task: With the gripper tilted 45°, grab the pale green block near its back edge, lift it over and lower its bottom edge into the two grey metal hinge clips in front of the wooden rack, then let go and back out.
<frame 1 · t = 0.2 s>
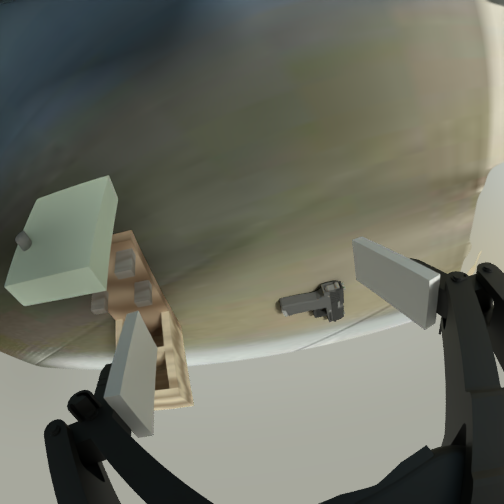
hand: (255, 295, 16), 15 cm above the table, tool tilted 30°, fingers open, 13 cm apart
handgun: (313, 303, 55), on the table
wooden rack: (126, 286, 36), on the table
pale green block: (75, 198, 24), on the table
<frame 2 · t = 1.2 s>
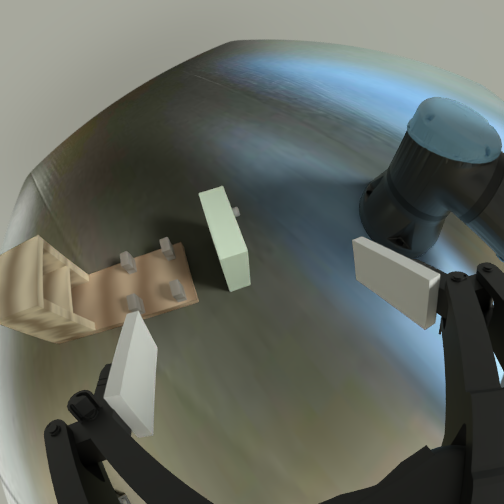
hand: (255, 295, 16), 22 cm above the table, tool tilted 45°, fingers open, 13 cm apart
wooden rack: (128, 293, 39), on the table
pale green block: (230, 260, 41), on the table
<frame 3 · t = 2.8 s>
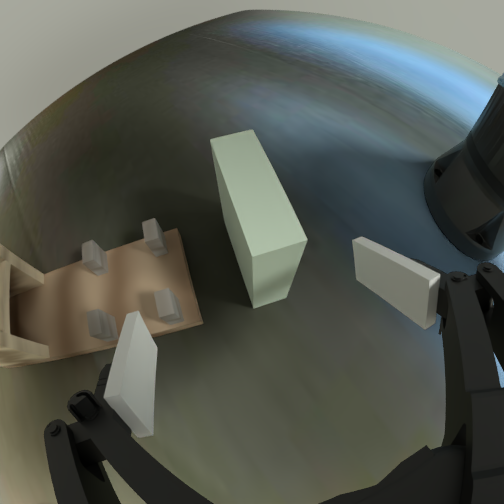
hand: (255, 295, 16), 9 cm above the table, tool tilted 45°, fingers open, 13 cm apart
wooden rack: (97, 304, 24), on the table
pale green block: (253, 258, 26), on the table
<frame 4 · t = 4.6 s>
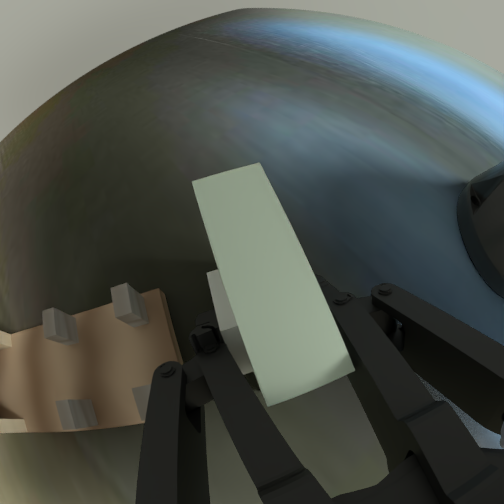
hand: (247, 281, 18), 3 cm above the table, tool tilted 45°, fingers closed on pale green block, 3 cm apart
wooden rack: (71, 376, 17), on the table
pale green block: (259, 325, 20), on the table, touching gripper
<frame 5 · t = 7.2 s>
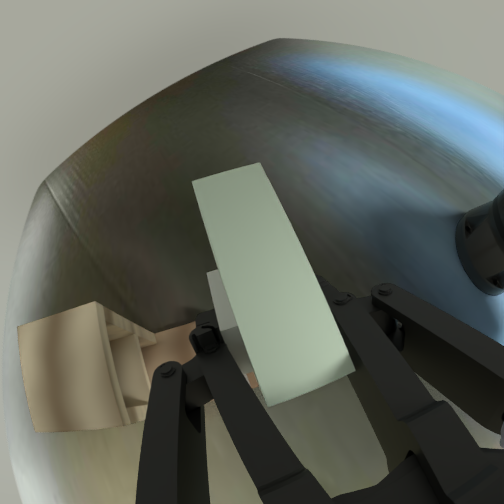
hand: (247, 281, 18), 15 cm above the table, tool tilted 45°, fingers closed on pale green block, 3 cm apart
wooden rack: (217, 358, 30), on the table
pale green block: (259, 325, 20), point 12 cm above the table, touching gripper
when the fingers open (6 cm above the table, at t = 9.7 s): pale green block stays where it is, resting on wooden rack.
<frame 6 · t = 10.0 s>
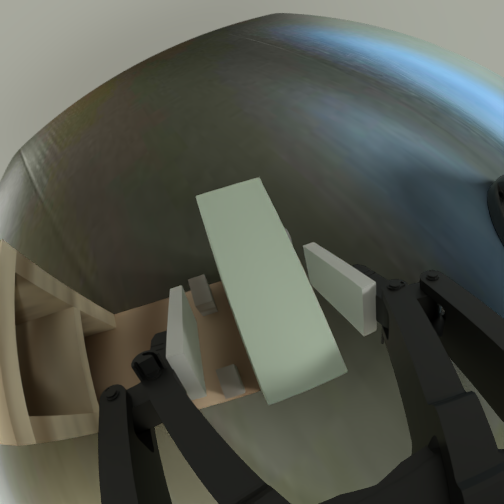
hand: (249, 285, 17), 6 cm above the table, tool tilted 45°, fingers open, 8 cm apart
wooden rack: (199, 350, 21), on the table
pale green block: (259, 328, 20), point 1 cm above the table, touching wooden rack
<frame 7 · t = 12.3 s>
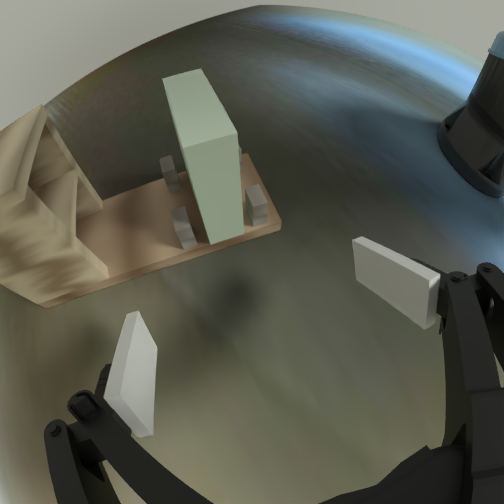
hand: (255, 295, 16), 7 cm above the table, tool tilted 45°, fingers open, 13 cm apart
wooden rack: (165, 223, 26), on the table
pale green block: (212, 198, 26), point 1 cm above the table, touching wooden rack
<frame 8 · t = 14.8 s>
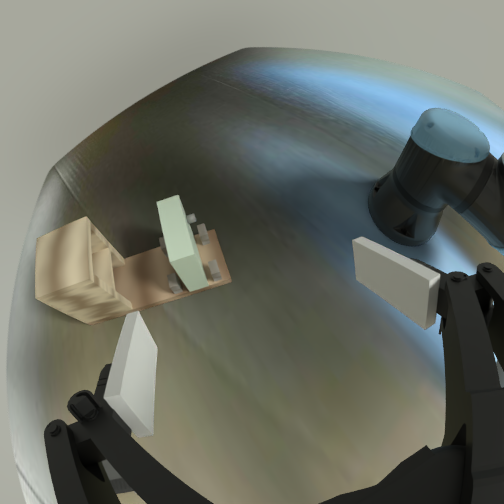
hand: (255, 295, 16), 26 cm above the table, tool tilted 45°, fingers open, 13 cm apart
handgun: (94, 463, 30), on the table
wooden rack: (164, 275, 44), on the table
pale green block: (191, 262, 43), point 1 cm above the table, touching wooden rack
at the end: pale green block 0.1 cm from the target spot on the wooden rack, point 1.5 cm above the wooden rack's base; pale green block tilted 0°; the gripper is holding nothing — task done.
